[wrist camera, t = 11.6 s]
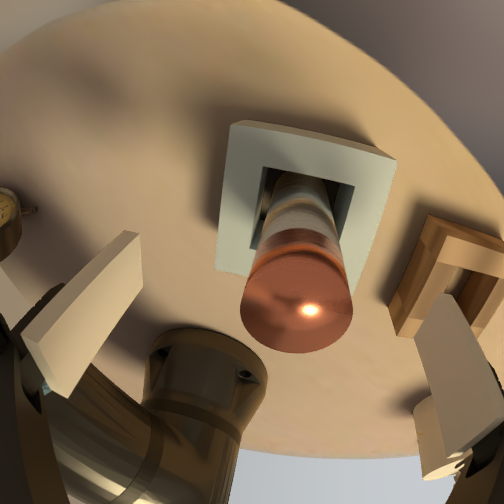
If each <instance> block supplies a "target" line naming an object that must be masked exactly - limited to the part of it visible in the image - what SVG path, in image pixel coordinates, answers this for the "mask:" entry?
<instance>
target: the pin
mask: <svg viewBox="0 0 504 504" xmlns="http://www.w3.org/2000/svg"><path fill="white" fill-rule="evenodd" d="M240 314H241V319H242V322H243V324H244V326H245V328H246V329H247V331H248V332H249V333H250V335H251V336H252V337H254V338H255V339H256V340H257V341H258V342H260V343H261V344H263V345H265V346H267V347H269V348H271V349H274V350H277V351H281V352H287V353H308V352H313V351H317V350H320V349H323V348H325V347H327V346H329V345H331V344H333V343H334V342H336V341H337V340H338V339H339V338H340V337H341V336H342V335H343V334H344V333H345V332H346V330H347V329H348V327H349V325H350V323H351V320H352V315H353V306H352V300H351V295H350V290H349V285H348V280H347V275H346V270H345V266H344V261H343V256H342V252H341V248H340V243H339V239H338V235H337V231H336V227H335V223H334V219H333V215H332V211H331V207H330V204H329V200H328V196H327V193H326V189H325V186H324V183H323V181H322V180H321V178H319V177H315V176H310V175H305V174H301V173H296V172H291V171H287V172H285V173H284V174H283V175H282V176H281V177H280V178H279V179H278V181H277V182H276V185H275V188H274V192H273V195H272V198H271V202H270V205H269V209H268V212H267V216H266V219H265V222H264V226H263V229H262V233H261V236H260V239H259V243H258V246H257V250H256V253H255V256H254V260H253V263H252V266H251V270H250V273H249V277H248V280H247V283H246V287H245V290H244V293H243V297H242V300H241V305H240Z"/></svg>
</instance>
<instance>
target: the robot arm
mask: <svg viewBox="0 0 504 504" xmlns="http://www.w3.org/2000/svg"><path fill="white" fill-rule="evenodd" d="M142 288H143V278H142V264H141V248H140V233H135V232H130V231H125V230H124V231H123V232H122V233H121V234H120V235H119V236H117V237H116V238H115V239H114V240H113V241H112V242H111V243H110V244H108V245H107V246H106V247H105V248H104V249H103V250H102V251H101V252H100V253H99V254H97V255H96V256H95V257H94V258H93V259H92V260H91V261H90V262H89V263H88V264H87V265H86V266H85V267H84V268H83V269H82V270H81V271H80V272H78V273H77V274H76V275H75V276H74V277H73V278H72V279H71V280H70V281H69V282H68V283H67V284H64V283H60V284H59V285H57V286H55V287H53V288H51V289H50V290H49V291H48V292H47V293H46V294H45V295H44V296H43V297H42V299H41V300H39V301H38V302H37V303H36V304H35V307H32V308H31V309H30V310H29V311H28V312H27V314H26V315H25V316H24V317H23V318H22V319H21V320H20V321H19V322H18V323H17V325H15V327H14V328H13V329H12V330H11V331H10V329H9V327H8V325H7V323H6V321H5V319H4V317H3V316H2V314H1V313H0V504H70V502H69V500H68V497H67V495H71V496H72V497H74V498H76V499H78V500H80V501H81V502H83V503H86V504H228V501H229V496H230V491H231V486H232V482H233V477H234V472H235V466H236V462H237V457H238V451H239V446H240V442H241V437H242V434H243V431H244V430H245V428H246V427H247V425H248V424H249V422H250V420H251V419H252V417H253V416H254V414H255V412H256V411H257V409H258V407H259V406H260V404H261V403H262V401H263V399H264V396H265V393H266V387H267V380H268V376H267V371H266V368H265V366H264V364H263V363H262V361H261V360H260V359H259V358H258V357H257V356H256V355H255V354H254V353H253V352H252V351H251V350H250V349H248V348H247V347H245V346H244V345H242V344H241V343H239V342H237V341H235V340H233V339H231V338H229V337H227V336H224V335H221V334H218V333H215V332H211V331H207V330H202V329H192V328H183V329H175V330H171V331H168V332H166V333H164V334H162V335H161V336H159V337H158V338H157V339H156V341H155V342H154V344H153V346H152V348H151V350H150V351H149V353H148V356H147V359H146V367H145V378H144V389H143V399H142V402H141V404H138V403H137V402H136V401H135V400H133V399H132V398H131V397H130V396H128V395H127V394H126V393H125V392H124V391H122V390H121V389H120V388H119V387H118V386H116V385H115V384H114V383H113V382H112V381H111V380H109V379H108V378H107V377H106V376H105V375H104V374H103V373H102V372H100V371H99V370H98V369H97V368H96V367H95V366H94V365H93V364H92V363H91V361H92V359H93V358H94V356H95V355H96V353H97V352H98V350H99V349H100V347H101V346H102V344H103V343H104V341H105V340H106V338H107V337H108V335H109V334H110V333H111V331H112V330H113V328H114V327H115V325H116V324H117V322H118V321H119V320H120V318H121V317H122V315H123V314H124V312H125V311H126V310H127V308H128V307H129V305H130V304H131V303H132V301H133V300H134V299H135V297H136V296H137V294H138V293H139V292H140V290H141V289H142ZM414 340H415V343H416V346H417V349H418V352H419V355H420V358H421V361H422V364H423V367H424V370H425V373H426V377H427V380H428V383H429V387H430V390H431V394H432V397H433V401H434V404H435V408H436V412H437V416H438V420H439V424H440V429H441V433H442V437H443V442H444V447H445V452H446V457H447V458H451V457H456V456H461V455H462V454H464V453H465V452H466V451H468V450H469V449H470V448H472V452H473V453H472V454H470V455H469V456H468V457H466V458H465V459H463V460H462V461H460V462H459V463H458V464H456V466H455V467H454V468H455V469H456V468H458V467H460V466H461V465H463V464H464V466H463V467H462V468H460V469H459V470H458V471H460V472H461V473H460V475H459V478H458V480H457V482H456V484H455V486H454V488H453V490H452V492H451V494H450V496H449V498H448V500H447V502H446V503H445V504H504V390H503V389H502V386H501V383H500V381H498V376H497V374H496V372H495V370H494V368H493V367H492V366H491V364H490V363H489V362H488V361H487V359H486V357H485V355H484V353H483V351H482V349H481V347H480V345H479V343H478V341H477V339H476V337H475V335H474V333H473V331H472V329H471V328H470V326H469V324H468V322H467V320H466V319H465V317H464V315H463V313H462V312H461V310H460V308H459V306H458V305H457V303H456V301H455V300H454V298H453V296H452V295H450V294H445V293H440V292H439V294H438V296H437V298H436V300H435V302H434V303H433V305H432V307H431V309H430V311H429V312H428V314H427V316H426V318H425V319H424V321H423V323H422V324H421V326H420V328H419V329H418V331H417V333H416V334H415V336H414Z"/></svg>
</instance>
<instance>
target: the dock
mask: <svg viewBox="0 0 504 504" xmlns="http://www.w3.org/2000/svg"><path fill="white" fill-rule="evenodd" d="M397 163H398V161H397V160H396V159H394V158H393V157H391V156H390V155H388V154H386V153H385V152H383V151H382V150H380V149H379V148H376V147H373V146H370V145H366V144H362V143H359V142H355V141H351V140H347V139H343V138H339V137H335V136H331V135H327V134H323V133H318V132H314V131H309V130H304V129H299V128H294V127H289V126H284V125H278V124H272V123H266V122H260V121H253V120H247V119H245V120H242V121H239V122H236V123H233V124H230V131H229V139H228V147H227V155H226V163H225V172H224V180H223V189H222V198H221V207H220V217H219V227H218V237H217V247H216V258H215V270H219V271H224V272H229V273H233V274H238V275H243V276H248V277H249V273H250V270H251V266H252V263H253V260H254V256H255V253H256V250H257V246H258V243H259V239H260V236H261V233H262V229H263V226H264V222H265V221H264V220H259V218H260V212H261V206H262V200H263V194H264V188H265V182H266V176H267V170H268V167H270V168H275V169H281V170H286V171H291V172H296V173H301V174H305V175H310V176H315V177H319V178H324V179H328V180H332V181H337V182H340V185H339V189H338V193H337V197H336V201H335V204H334V208H333V212H332V215H333V219H334V223H335V227H336V231H337V235H338V239H339V243H340V248H341V252H342V256H343V261H344V266H345V270H346V275H347V280H348V285H349V290H350V295H351V297H352V295H353V293H354V290H355V288H356V285H357V283H358V280H359V278H360V275H361V273H362V270H363V268H364V265H365V262H366V260H367V257H368V254H369V252H370V249H371V246H372V243H373V241H374V238H375V235H376V232H377V229H378V226H379V223H380V220H381V217H382V214H383V211H384V208H385V204H386V201H387V198H388V195H389V191H390V188H391V185H392V181H393V178H394V174H395V170H396V167H397Z"/></svg>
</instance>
